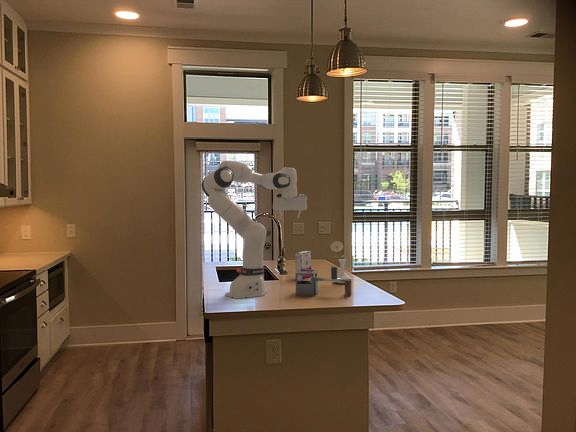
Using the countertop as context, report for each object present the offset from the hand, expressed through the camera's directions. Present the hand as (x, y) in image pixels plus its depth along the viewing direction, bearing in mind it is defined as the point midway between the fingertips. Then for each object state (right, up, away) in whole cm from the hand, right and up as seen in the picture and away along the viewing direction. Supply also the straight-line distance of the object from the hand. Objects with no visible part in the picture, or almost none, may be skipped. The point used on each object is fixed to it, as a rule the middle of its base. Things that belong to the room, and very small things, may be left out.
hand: (290, 217), depth 296 cm
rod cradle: (+31, -41, -32) cm, 60 cm away
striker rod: (+21, -40, -29) cm, 54 cm away
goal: (+9, -41, -27) cm, 49 cm away
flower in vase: (+30, -39, +3) cm, 49 cm away
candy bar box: (+9, -38, +21) cm, 44 cm away
